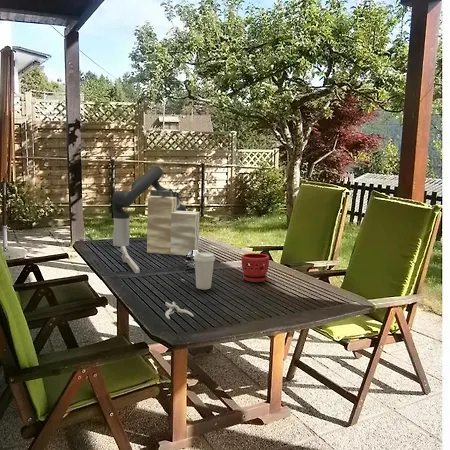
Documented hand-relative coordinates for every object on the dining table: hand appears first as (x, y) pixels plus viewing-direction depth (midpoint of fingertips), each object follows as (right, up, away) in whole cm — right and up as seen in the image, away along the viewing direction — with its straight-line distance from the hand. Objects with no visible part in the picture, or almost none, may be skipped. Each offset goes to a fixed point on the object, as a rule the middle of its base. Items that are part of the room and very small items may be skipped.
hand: (167, 189), depth 280 cm
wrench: (-14, -43, -41) cm, 61 cm away
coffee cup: (+25, -49, -72) cm, 91 cm away
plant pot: (+49, -48, -57) cm, 88 cm away
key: (-1, -3, -5) cm, 6 cm away
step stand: (+4, -37, -5) cm, 38 cm away
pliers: (+16, -54, -104) cm, 118 cm away
